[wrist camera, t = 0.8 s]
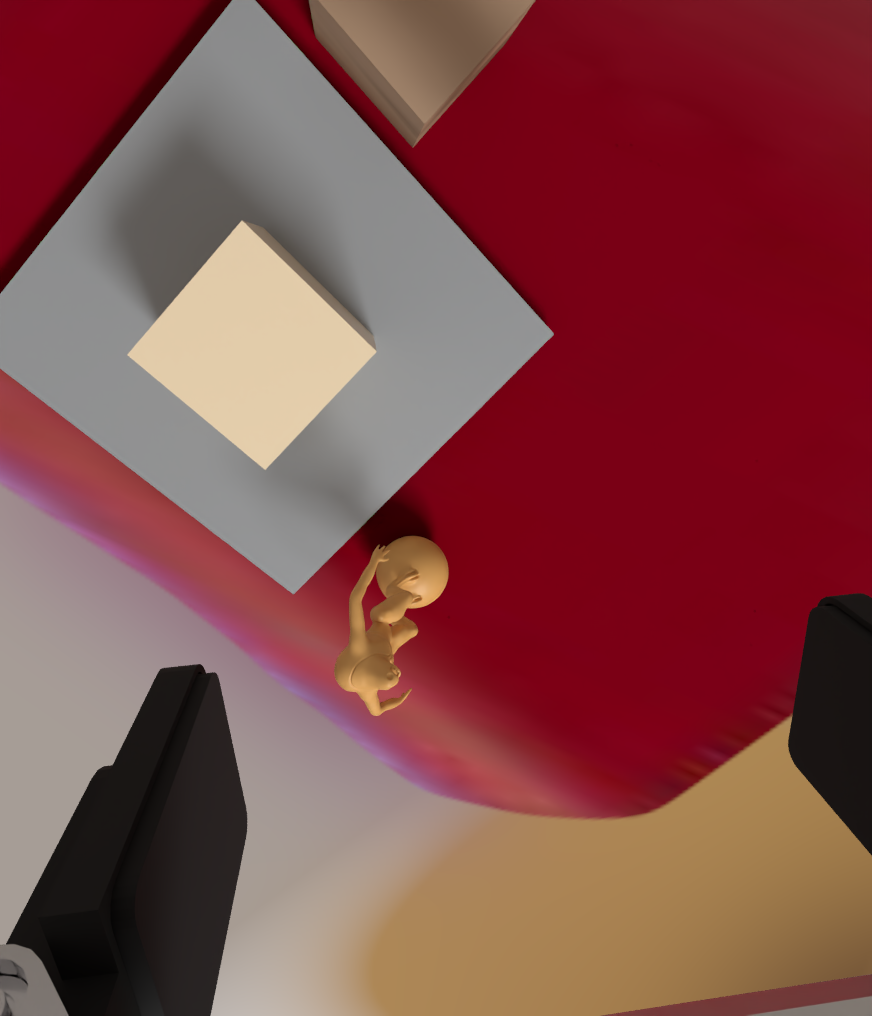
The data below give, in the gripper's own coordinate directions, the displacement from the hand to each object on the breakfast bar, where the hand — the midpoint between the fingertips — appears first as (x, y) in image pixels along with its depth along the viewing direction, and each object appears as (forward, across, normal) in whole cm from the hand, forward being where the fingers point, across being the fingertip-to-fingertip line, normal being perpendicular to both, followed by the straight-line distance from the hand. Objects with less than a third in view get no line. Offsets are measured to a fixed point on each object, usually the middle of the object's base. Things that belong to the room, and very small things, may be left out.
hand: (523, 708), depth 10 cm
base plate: (+27, +7, -3) cm, 28 cm away
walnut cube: (+27, -1, -16) cm, 31 cm away
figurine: (+27, +2, +10) cm, 29 cm away
